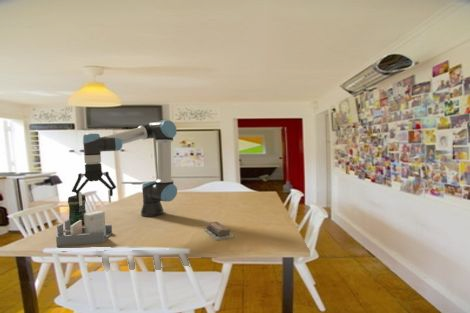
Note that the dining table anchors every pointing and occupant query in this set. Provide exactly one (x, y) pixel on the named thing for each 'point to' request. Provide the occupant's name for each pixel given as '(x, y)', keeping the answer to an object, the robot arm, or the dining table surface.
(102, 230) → the small box
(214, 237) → the packaged product
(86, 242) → the grey slotted tray
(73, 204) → the coffee jar
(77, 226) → the grey open holder
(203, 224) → the dining table surface
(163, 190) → the robot arm
